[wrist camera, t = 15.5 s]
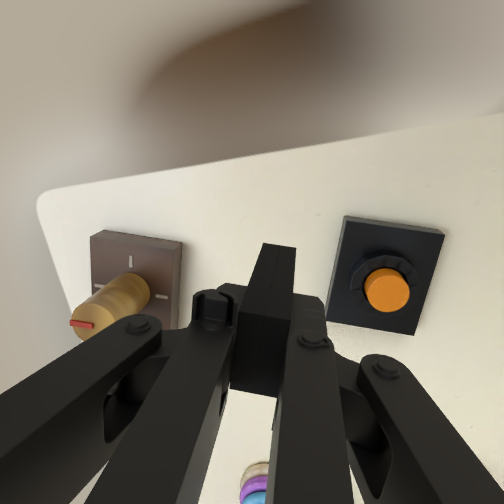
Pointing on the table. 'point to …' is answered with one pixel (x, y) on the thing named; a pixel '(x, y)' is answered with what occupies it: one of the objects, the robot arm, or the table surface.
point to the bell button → (386, 290)
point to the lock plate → (140, 269)
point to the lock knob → (110, 304)
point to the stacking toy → (254, 484)
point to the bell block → (378, 257)
